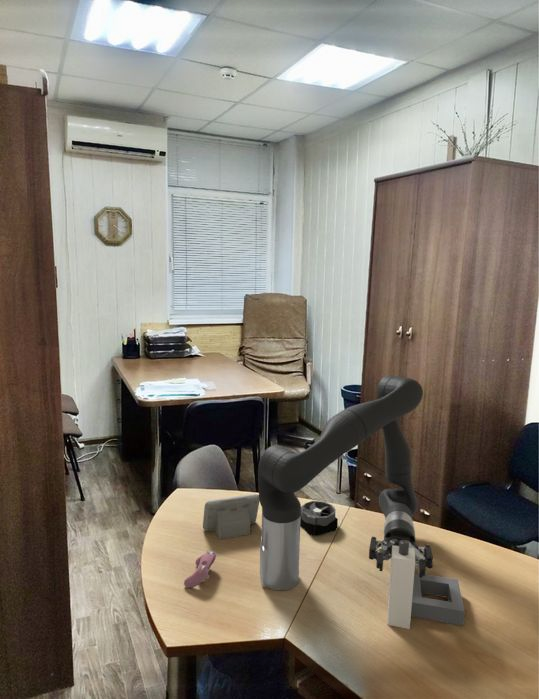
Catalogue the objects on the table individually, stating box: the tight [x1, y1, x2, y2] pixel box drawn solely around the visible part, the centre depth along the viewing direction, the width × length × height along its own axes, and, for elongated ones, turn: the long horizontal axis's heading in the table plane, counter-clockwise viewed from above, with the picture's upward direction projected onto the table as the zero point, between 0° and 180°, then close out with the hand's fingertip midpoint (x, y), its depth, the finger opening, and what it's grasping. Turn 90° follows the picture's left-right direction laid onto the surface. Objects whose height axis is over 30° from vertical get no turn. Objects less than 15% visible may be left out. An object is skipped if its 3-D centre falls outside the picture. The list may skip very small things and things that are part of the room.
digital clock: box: [202, 493, 260, 540], centre depth 141 cm, size 16×9×11 cm, turn 98°
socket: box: [411, 572, 465, 627], centre depth 112 cm, size 11×11×4 cm
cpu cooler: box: [300, 500, 339, 537], centre depth 144 cm, size 10×6×10 cm
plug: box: [387, 540, 416, 630], centre depth 106 cm, size 5×5×18 cm
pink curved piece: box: [183, 550, 218, 589], centre depth 120 cm, size 10×5×7 cm, turn 169°
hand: (401, 570), depth 109 cm, fingers open, 8 cm apart
